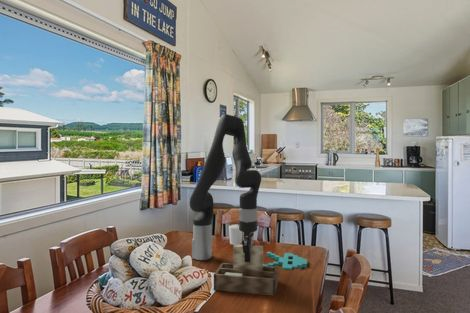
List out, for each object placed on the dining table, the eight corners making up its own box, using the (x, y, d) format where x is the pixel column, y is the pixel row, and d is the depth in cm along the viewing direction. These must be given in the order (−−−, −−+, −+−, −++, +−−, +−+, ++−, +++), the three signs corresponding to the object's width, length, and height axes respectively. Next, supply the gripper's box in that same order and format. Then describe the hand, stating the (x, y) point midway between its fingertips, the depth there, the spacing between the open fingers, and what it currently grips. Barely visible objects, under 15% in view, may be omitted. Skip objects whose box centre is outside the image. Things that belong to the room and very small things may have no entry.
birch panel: (233, 282, 136) (233, 246, 135) (234, 279, 139) (234, 244, 138) (262, 284, 133) (262, 248, 133) (263, 281, 136) (263, 245, 136)
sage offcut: (223, 288, 130) (223, 276, 130) (225, 284, 134) (225, 272, 134) (240, 290, 128) (240, 277, 128) (242, 285, 132) (242, 273, 132)
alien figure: (262, 270, 152) (307, 274, 148) (262, 265, 151) (307, 269, 147) (267, 255, 171) (306, 258, 167) (267, 251, 171) (306, 254, 167)
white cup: (238, 246, 185) (237, 228, 185) (226, 244, 190) (226, 226, 189) (245, 242, 192) (245, 225, 192) (233, 240, 196) (233, 224, 196)
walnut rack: (213, 292, 129) (213, 274, 129) (221, 278, 142) (221, 262, 141) (275, 298, 124) (275, 279, 124) (277, 283, 137) (278, 266, 136)
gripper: (242, 214, 142) (242, 254, 143) (235, 222, 129) (235, 266, 129) (259, 215, 141) (259, 255, 142) (254, 223, 127) (254, 267, 128)
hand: (248, 260), depth 135 cm, fingers closed on birch panel, 3 cm apart
